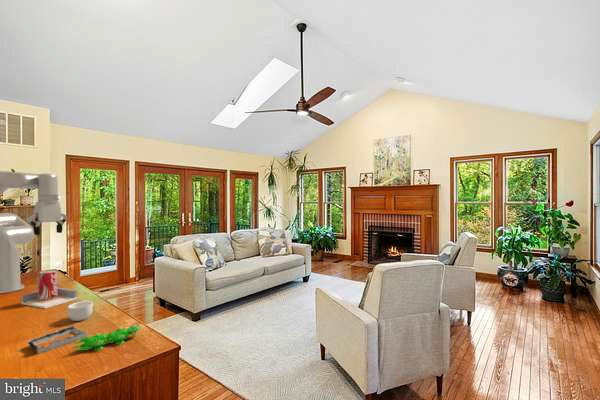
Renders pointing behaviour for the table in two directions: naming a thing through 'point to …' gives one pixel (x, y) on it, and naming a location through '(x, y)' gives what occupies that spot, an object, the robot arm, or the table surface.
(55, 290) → the soda can
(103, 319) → the table surface
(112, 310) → the table surface
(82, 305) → the teacup
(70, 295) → the open box
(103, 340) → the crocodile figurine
